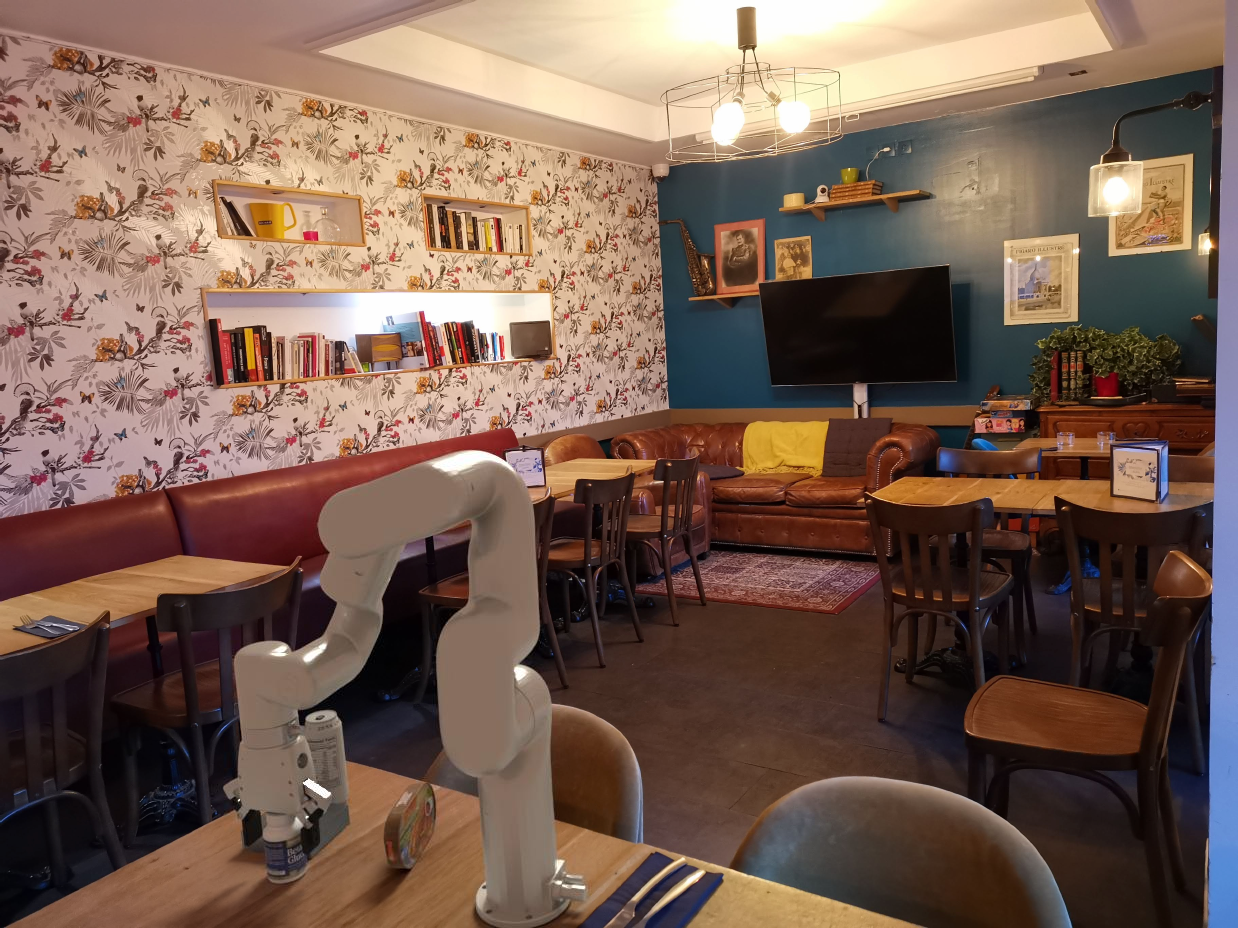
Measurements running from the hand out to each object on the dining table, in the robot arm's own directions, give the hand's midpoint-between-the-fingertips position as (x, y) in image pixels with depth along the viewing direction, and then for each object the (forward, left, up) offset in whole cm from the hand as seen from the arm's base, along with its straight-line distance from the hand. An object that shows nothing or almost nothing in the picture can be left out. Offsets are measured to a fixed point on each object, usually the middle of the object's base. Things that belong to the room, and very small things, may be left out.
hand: (282, 845), depth 127 cm
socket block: (+5, -9, -4) cm, 11 cm away
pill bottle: (0, 0, -5) cm, 5 cm away
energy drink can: (+6, -19, -5) cm, 20 cm away
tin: (-15, -9, -5) cm, 18 cm away
